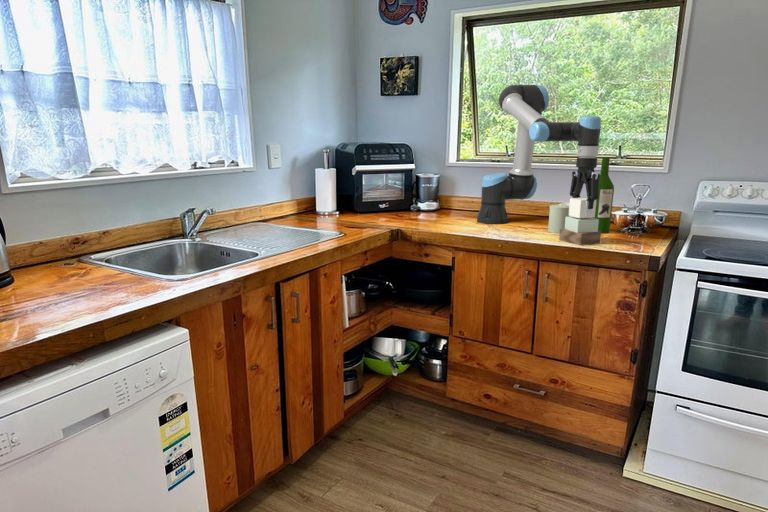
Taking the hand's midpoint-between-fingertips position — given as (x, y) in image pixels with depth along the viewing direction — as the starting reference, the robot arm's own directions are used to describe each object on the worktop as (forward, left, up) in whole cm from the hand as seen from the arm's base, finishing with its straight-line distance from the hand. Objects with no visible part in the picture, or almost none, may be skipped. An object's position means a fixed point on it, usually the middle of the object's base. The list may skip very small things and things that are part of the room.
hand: (581, 215), depth 197 cm
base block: (0, 0, -11) cm, 11 cm away
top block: (0, 0, -6) cm, 6 cm away
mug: (-32, +18, -11) cm, 38 cm away
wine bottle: (-15, +21, -11) cm, 28 cm away
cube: (0, 0, 0) cm, 0 cm away
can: (-20, +4, -11) cm, 23 cm away
